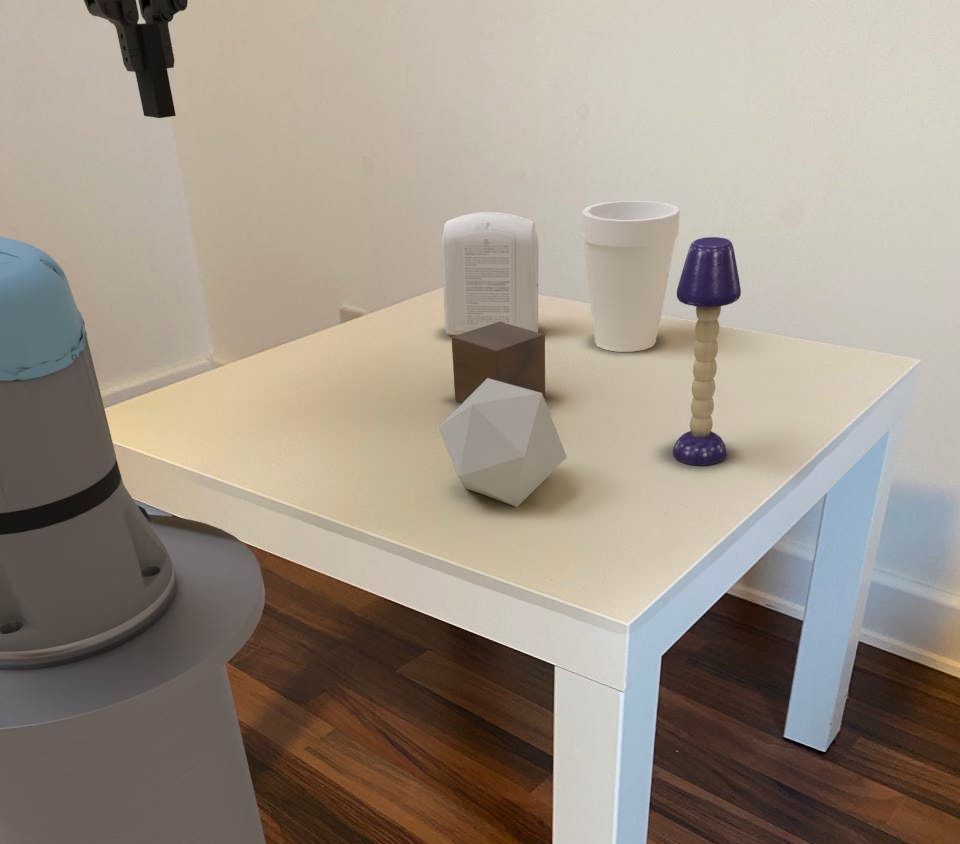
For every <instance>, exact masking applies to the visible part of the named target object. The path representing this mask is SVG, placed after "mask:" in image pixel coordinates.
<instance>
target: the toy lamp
mask: <svg viewBox="0 0 960 844" xmlns="http://www.w3.org/2000/svg"><path fill="white" fill-rule="evenodd" d="M689 245H690V246H689V248H688V251H687V254H686V256H685V261H684V264H683V267H682V270H681V274H680V278H679V281H678V285H677V288H676V298H677V300H678V302H679V303H682V304H684V305H688V306H693V307H695V314H696V318H697V321H696V323H695V327H694V334H695V338H696V341H695V343H694V347H693V353H694V357H695V360H694V362H693V364H692V375H693V377H694V378H693V381H692V384H691V394H692V396H693V398H692V399H691V403H690V412H691V414H692V415H691V418H690V420H689V429H690V430H689V431H687V432H685V433H683V434H682V435H680V437H678V439H677V440H676V441H675V443H674V446H673V449H672V455H673V457H674V458H675V459H676V460H677V461H678V462H680V463H684V464H687V465H692V466H710V465H714V464H718V463H720V462H722V461H723V460H725V458H726V456H727V448H726V444H725V442H724V440H723V439H722V437H721V436H720V435H719V434H718V433H716V432H714V431H712V429H713V418H712V414H713V412H714V409H715V401H714V398H713V396H714V395H715V392H716V382H715V379H714V378H715V377H716V375H717V370H718V367H717V366H718V364H717V361H716V358H717V355H718V352H719V345H718V344H719V343H718V340H717V338H718V337H719V334H720V323H719V320H718V319H719V318H720V315H721V311H722V307H723V306H728V305H731V304H734V303H735V302H737V301H738V300H739V299H740V297H741V295H742V290H741V289H742V288H741V283H740V276H739V270H738V265H737V259H736V255H735V248H734V245H733V242H732V241H731V240H730V239H728V238H725V237H720V236H707V237H701V238H697V239H695V240H693V241H692V242H691V244H689Z"/></svg>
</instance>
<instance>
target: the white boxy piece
mask: <svg viewBox="0 0 960 844" xmlns="http://www.w3.org/2000/svg"><path fill="white" fill-rule="evenodd" d="M535 225H536V224H535V221H533V220H532V219H529V218H526V217H524V216H520V215H517V214H513V213H506V212H499V211H482V212H473V213H472V212H471V213H467V214H463V215H460V216H457V217H454V218H452V219H449V220H447V221H446V222H444V224H443V233H442V236H441V261H442V262H441V263H442V264H441V265H442V286H443V288H442V289H443V307H444V308H443V309H444V326H445V327H444V329H445V333H446V334H447V335H448V336H456V335H459V334H462V333H465V332H468V331H472V330H475V329H478V328H481V327H484V326H487V325H490V324H493V323H496V322H503V323H507V324H510V325H514V326H517V327H521V328H524V329H528V330H531V331H535V332H538V333H539V237H538V234H537V231H536V226H535Z"/></svg>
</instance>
